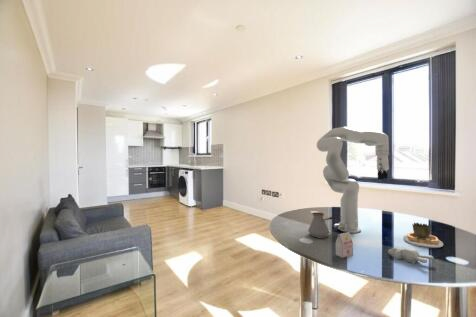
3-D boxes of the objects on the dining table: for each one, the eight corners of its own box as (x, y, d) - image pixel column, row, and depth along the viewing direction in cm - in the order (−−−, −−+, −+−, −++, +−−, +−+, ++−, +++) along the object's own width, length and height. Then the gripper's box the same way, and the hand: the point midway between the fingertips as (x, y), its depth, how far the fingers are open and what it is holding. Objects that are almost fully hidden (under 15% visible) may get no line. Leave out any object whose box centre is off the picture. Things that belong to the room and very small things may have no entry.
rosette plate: (425, 249, 106) (425, 243, 106) (395, 238, 122) (395, 232, 122) (452, 246, 109) (451, 240, 109) (419, 235, 125) (419, 230, 125)
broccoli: (426, 243, 111) (426, 227, 111) (409, 239, 117) (409, 223, 117) (434, 240, 114) (433, 225, 114) (417, 236, 121) (416, 221, 121)
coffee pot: (303, 234, 130) (303, 209, 130) (318, 231, 136) (317, 207, 136) (334, 247, 111) (333, 217, 111) (349, 242, 116) (349, 214, 117)
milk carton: (335, 254, 102) (335, 233, 102) (346, 252, 105) (346, 231, 105) (342, 258, 99) (341, 235, 99) (353, 255, 102) (352, 233, 102)
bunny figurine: (395, 243, 104) (434, 251, 91) (397, 254, 104) (437, 264, 91) (383, 247, 100) (423, 255, 87) (385, 259, 100) (425, 269, 86)
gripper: (385, 153, 140) (385, 180, 140) (391, 153, 152) (392, 178, 152) (371, 153, 146) (372, 179, 146) (379, 153, 158) (379, 177, 158)
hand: (382, 178), depth 149 cm, fingers open, 9 cm apart
